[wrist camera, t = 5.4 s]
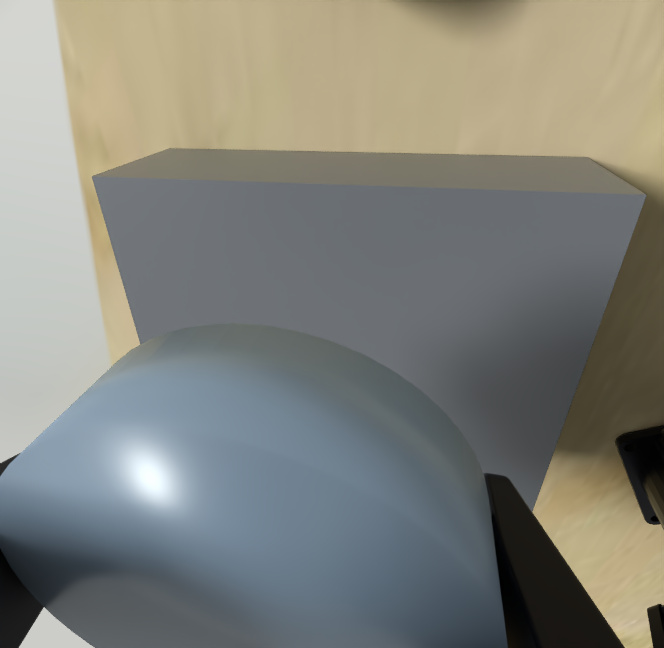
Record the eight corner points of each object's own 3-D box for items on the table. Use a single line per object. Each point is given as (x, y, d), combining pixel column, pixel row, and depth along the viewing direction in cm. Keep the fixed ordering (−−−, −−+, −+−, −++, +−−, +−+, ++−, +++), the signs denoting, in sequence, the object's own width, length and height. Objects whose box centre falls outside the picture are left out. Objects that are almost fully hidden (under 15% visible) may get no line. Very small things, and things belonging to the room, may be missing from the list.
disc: (546, 593, 8) (579, 747, 6) (234, 618, 10) (195, 726, 9) (366, 242, 5) (332, 336, 3) (14, 400, 8) (-104, 495, 6)
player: (512, 425, 22) (532, 511, 18) (216, 391, 25) (174, 459, 21) (586, 157, 15) (646, 194, 11) (169, 148, 18) (91, 176, 14)
